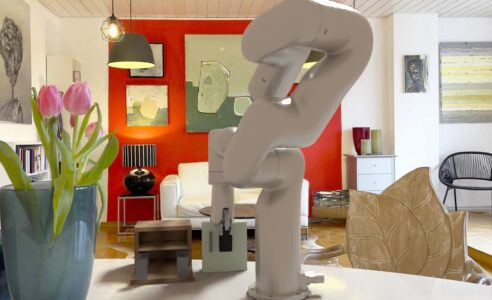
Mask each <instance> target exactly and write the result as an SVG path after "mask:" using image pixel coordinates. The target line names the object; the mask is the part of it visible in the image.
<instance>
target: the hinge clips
mask: <svg viewBox="0 0 492 300" xmlns="http://www.w3.org/2000/svg"><path fill="white" fill-rule="evenodd" d="M148 273H149V253H138V258H137V259H136V280H146V279H148ZM179 277H188V256H187V251H177V278H179Z"/></svg>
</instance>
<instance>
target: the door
mask: <svg viewBox="0 0 492 300" xmlns="http://www.w3.org/2000/svg"><path fill="white" fill-rule="evenodd" d="M247 223H248V222H247V221H246V220H245V219H242V220H241V219H239V220H234V223H233V225H231V228H232V251H231V252H219V235H220V226H219V224H217V225H216V226H215V225H213V223H212V221H201V271H202V273H203V274H204V273H220V272H235V271H237V272H238V271H247V270H248V233H247V232H248V231H247V229H248V227H247V226H248V225H247ZM222 230H223V229H222Z"/></svg>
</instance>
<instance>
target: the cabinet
mask: <svg viewBox="0 0 492 300" xmlns="http://www.w3.org/2000/svg"><path fill="white" fill-rule="evenodd" d="M192 227H193V226H192V222H191V219H186V218H185V219H165V220H163V219H162V220H161V219H160V220H137V222H136V224H135V225H134V227H133V234H134V235H133V239H134V241H133V245H134V247H133V249H134V253H133V254H134V255H133V256H134V257H133V258H134V260H133V261H134V263H133V265H134V269H133V272H132V276H131V278H130V281H129V282H130V283H129V285H130V286H135V285H151V284H167V283H170V284H171V283H181V282H183V283H185V282H195V279H194V278H195V275H194V272H193V271H194V269H193V248H192V247H193V244H192V243H193V240H192V237H193V234H192V232H193V230H192ZM177 251H187V256H188V277H179V278H177ZM138 253H149V273H148V279H146V280H136V259H137V258H138Z"/></svg>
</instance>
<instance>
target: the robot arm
mask: <svg viewBox="0 0 492 300" xmlns="http://www.w3.org/2000/svg"><path fill="white" fill-rule="evenodd" d="M373 33H374V32H373V29H372V26H371V24H370V22H369V20H368V19H367V17H366V16H365V15H364V14H362V13H361V12H359V11H358V10H356V9H354V8H352V7H349V6H348V5H344V4H340V3H338V2H337V3H336V2H334V1H329V0H282V1H281V0H280V2H277V3H276V4H275V5H273V6H272V7H269V8H267V10H265V11H264V12H262V13H260V14H259V15H257V16H256V17H255V18H254V19H253V20H252V21H250V23H249V24H248V25H247V27H246V28H245V30H244V32H243V34H242V37H241V41H240V50H241V54H242V56H243V58H244V60H247V61H248V62H250V63H254V64H257V65H256V69H255V70H254V72H253V74H252V76H251V78H250V80H249V82H248V85H247V90H248V91H247V92H248V93H249V95H250V97H251V98H252V99H253V100H254V101H253V102H251V103H250V104H249V106H248V107H247V108H246V110H245V111H244V113H243V114H242V117H241V119H240V121H239V123H238V126H227V127H224V128H215V129H211V130H210V131H209V132H208V136H207V137H208V138H207V139H208V141H207V143H208V145H207V146H208V147H207V148H208V149H207V150H208V151H207V152H208V154H207V155H208V157H207V158H208V159H207V162H208V165H207V167H208V169H207V171H208V173H207V175H208V177H207V178H208V179H207V181H208V182H207V183H208V185H209V186H211V200H210V201H211V203H210V204H211V206H210V210H211V211H210V220H211V221H212V223H213V225H215V226H216V225H217V224H219V226H220V235H219V252H231V251H232V228H231V225H233V223H234V221H235V188H236V189H239V190H240V189H241V190H253V189H255V190H256V189H261V191H260V193H259V195H258V196H257V200H256V202H255V208H254V232H255V233H254V244H255V245H254V253H255V255H254V258H255V259H254V260H255V261H254V263H255V264H254V265H255V266H254V267H255V269H254V270H255V272H254V273H255V275H254V276H255V281H254V282H252V283H251V284H249V285H248V289H247V293H248V295H249V296H250V298H253V299H255V300H305V299H306V298H307V297H308V296H309V295H310V288H309V286H310V284H315V285H316V284H324V283H325V275H324V274H323V273H315V272H314V271H310V272H309V271H307V272H305V271H304V270H302V243H301V242H302V238H301V237H302V236H301V235H302V229H301V228H302V227H301V226H302V225H301V224H302V223H301V222H302V221H301V218H302V214H301V213H302V212H301V211H302V209H301V208H302V205H301V204H302V188H303V183H304V178H305V171H306V159H305V155H304V153H303V151H302V150H301V149H303V148H304V149H305V148H308V147H311V146H312V145H314V144H315V143H316V141H318V139H319V138H320V136H321V135H322V133H323V132H324V130H325V128H326V127H327V125H328V124H329V123H330V121H331V119H332V118H333V116H334V115H335V113H336V112H337V110H338V108H339V106H340V105H341V103H342V102H343V100H344V98H345V97H346V96H347V94H348V93H349V91H350V90H351V89H352V88H353V86H355V84H356V83H357V81H358V80H359V79H360V77H361V76H362V74H363V73H364V71H365V70H366V68H367V67H368V64H369V63H370V59H371V58H372V54H373V51H374V50H373V49H374V34H373ZM311 51H315V52H321V53H324V54H325V55H324V56H323V57H322V58H321V59H320V60H318V61H317V62H315V63H314V64H313V65H311V67H309V68H308V70H306V72H305V73H304V74H303V75H302V77H300V80H299V82H298V84H297V86H296V87H295V89H294V90H293V92H292V93H291V94H290V95H289V92H290V91H291V89H292V87H293V85H294V83H295V82H296V80H297V78H298V76H299V74H300V72H301V71H302V68H303V67H304V65H305V63H306V61H307V59H308V58H309V56H310V53H311ZM288 95H289V96H288ZM211 221H210V222H211ZM222 229H223V230H222Z"/></svg>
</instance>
